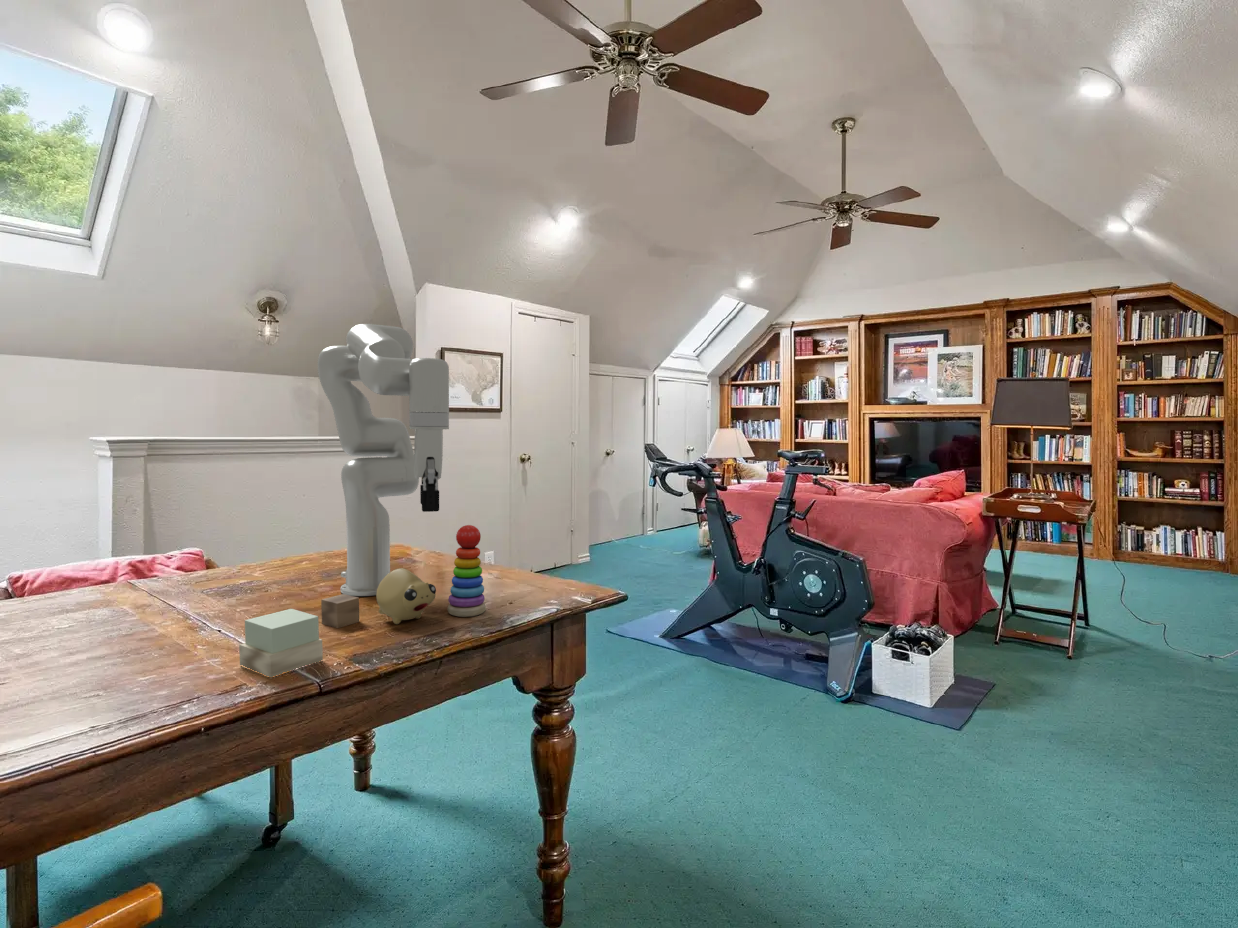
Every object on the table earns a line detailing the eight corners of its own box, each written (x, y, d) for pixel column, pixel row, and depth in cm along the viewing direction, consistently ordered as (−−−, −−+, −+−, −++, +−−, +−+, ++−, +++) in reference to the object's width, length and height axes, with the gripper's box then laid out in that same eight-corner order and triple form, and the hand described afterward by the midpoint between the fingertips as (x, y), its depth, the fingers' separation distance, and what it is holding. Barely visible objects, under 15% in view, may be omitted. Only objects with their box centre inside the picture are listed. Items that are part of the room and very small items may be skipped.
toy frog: (404, 633, 125) (404, 578, 124) (367, 621, 132) (366, 569, 131) (445, 620, 133) (444, 569, 132) (407, 609, 140) (407, 561, 139)
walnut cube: (321, 624, 130) (321, 599, 130) (343, 617, 134) (343, 593, 134) (337, 628, 127) (336, 603, 127) (359, 621, 132) (359, 597, 131)
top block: (245, 643, 108) (244, 620, 107) (291, 630, 114) (291, 608, 114) (272, 653, 103) (271, 628, 103) (318, 639, 110) (318, 616, 110)
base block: (239, 668, 108) (239, 644, 107) (291, 651, 115) (291, 629, 115) (270, 680, 103) (270, 655, 103) (322, 662, 110) (322, 639, 110)
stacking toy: (476, 619, 134) (476, 529, 133) (440, 616, 136) (440, 527, 134) (491, 608, 142) (491, 523, 140) (457, 605, 143) (457, 521, 142)
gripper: (408, 420, 135) (409, 502, 137) (409, 422, 119) (410, 514, 120) (446, 421, 138) (446, 501, 139) (452, 423, 121) (452, 513, 123)
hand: (429, 507), depth 130 cm, fingers open, 9 cm apart
